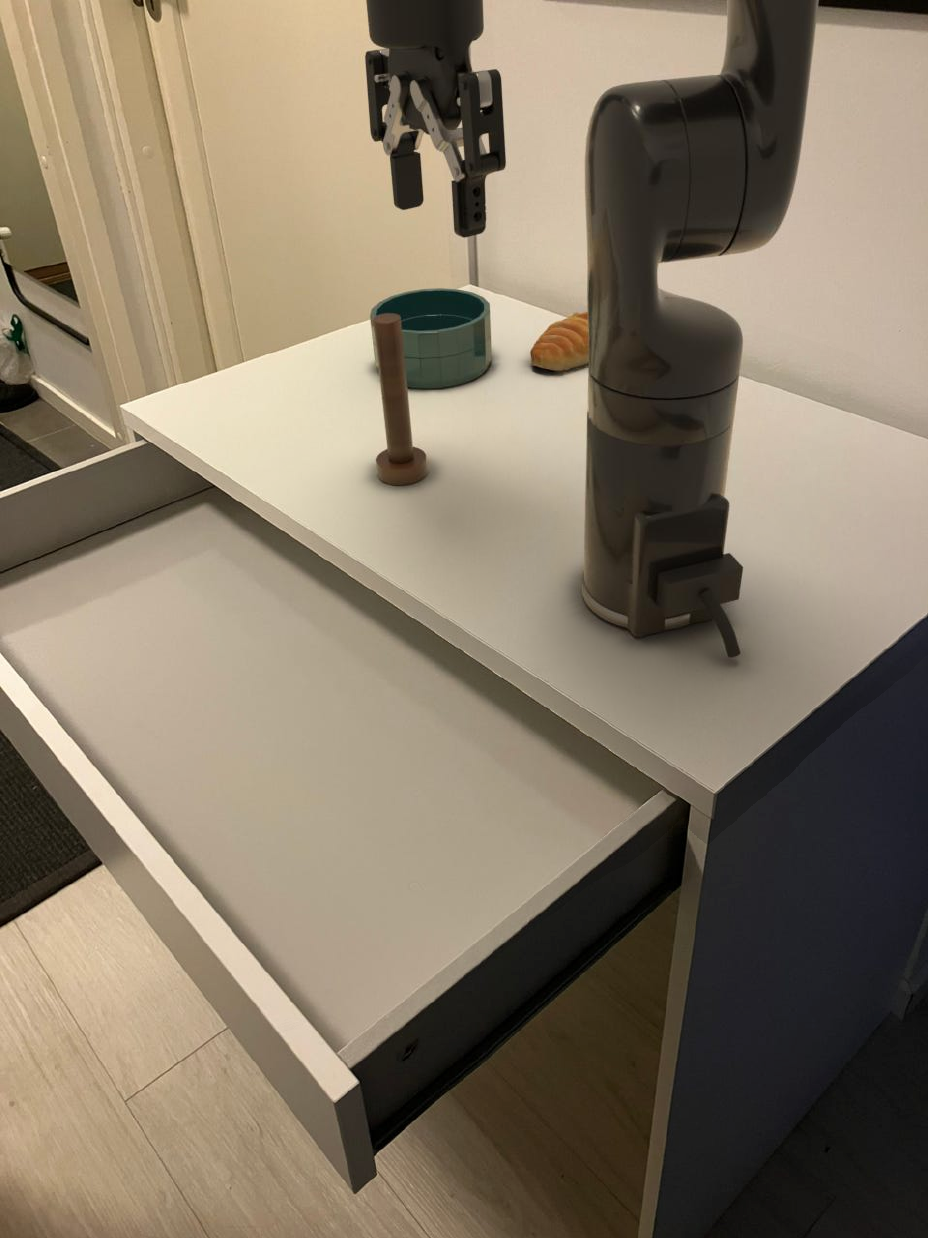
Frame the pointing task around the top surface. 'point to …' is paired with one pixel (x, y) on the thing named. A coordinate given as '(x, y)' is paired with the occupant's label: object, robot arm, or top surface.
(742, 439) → the top surface
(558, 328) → the pastry
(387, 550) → the top surface
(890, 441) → the top surface
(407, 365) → the bowl
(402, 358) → the stick
